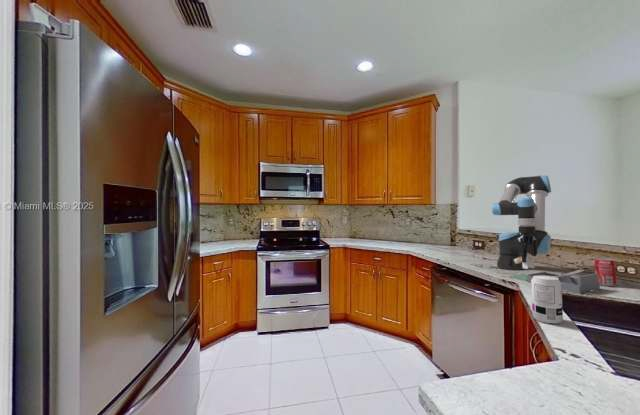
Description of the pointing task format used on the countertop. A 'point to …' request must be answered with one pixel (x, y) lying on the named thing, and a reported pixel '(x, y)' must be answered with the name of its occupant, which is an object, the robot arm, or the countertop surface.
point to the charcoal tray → (574, 282)
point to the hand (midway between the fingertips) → (528, 268)
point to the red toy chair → (605, 271)
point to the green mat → (520, 277)
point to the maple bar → (519, 260)
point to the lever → (568, 274)
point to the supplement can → (547, 299)
